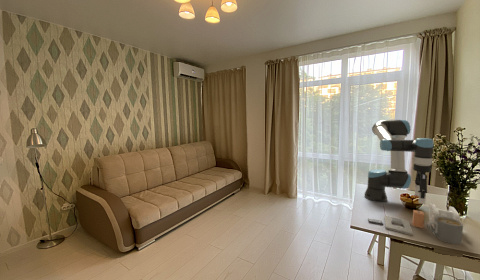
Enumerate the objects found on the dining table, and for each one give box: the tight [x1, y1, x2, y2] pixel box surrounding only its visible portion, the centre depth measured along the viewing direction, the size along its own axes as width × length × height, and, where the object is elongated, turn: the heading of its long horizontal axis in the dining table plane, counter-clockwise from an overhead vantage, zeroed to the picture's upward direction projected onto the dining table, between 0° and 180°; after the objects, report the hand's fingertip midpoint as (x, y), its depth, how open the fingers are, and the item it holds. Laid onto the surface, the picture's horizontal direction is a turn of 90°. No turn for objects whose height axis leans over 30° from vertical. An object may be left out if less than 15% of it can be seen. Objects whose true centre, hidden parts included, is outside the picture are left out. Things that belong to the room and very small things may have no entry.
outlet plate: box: [384, 215, 414, 236], centre depth 115 cm, size 16×12×1 cm
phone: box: [367, 218, 384, 226], centre depth 119 cm, size 4×7×1 cm, turn 64°
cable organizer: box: [428, 203, 461, 229], centre depth 113 cm, size 15×11×12 cm
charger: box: [411, 209, 425, 229], centre depth 115 cm, size 4×4×9 cm
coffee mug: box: [426, 216, 464, 245], centre depth 103 cm, size 13×10×10 cm
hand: (419, 199), depth 113 cm, fingers open, 13 cm apart
